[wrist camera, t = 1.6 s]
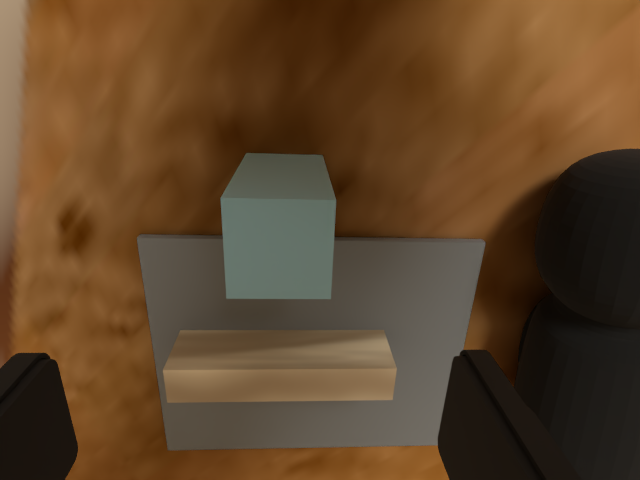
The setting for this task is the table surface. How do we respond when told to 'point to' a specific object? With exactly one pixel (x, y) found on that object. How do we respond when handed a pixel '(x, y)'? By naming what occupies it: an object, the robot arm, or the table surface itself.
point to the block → (279, 228)
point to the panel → (319, 314)
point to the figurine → (588, 317)
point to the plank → (279, 366)
